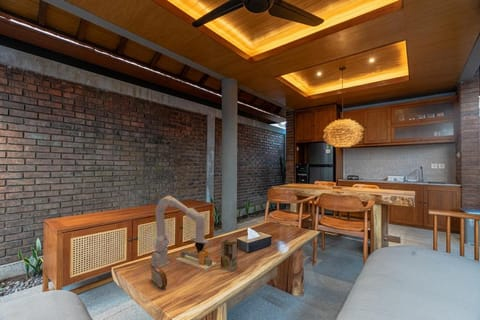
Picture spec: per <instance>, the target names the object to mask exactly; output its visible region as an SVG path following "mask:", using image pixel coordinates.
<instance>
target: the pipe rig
mask: <svg viewBox="0 0 480 320" xmlns="http://www.w3.org/2000/svg"><path fill="white" fill-rule="evenodd" d="M175 261H176V262H180V263H183V264H187V265H188V266H192V267H195V268H197V269H200V270H203V271H208V270H210V269H212V268H213V267H215V266H217V262H214V261H213V259H211V258H210V257H209V256H208V257H204V261H207V262H206V263H205V264H201V263H199V254H198V253H194V252H190V251H187V250H184V249H183V250H182V251H181V252H180V256H179V257H177V258H175Z"/></svg>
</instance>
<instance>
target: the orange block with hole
mask: <svg viewBox="0 0 480 320" xmlns="http://www.w3.org/2000/svg"><path fill="white" fill-rule="evenodd" d="M198 255H199V263H201V264H205V263H206V262H207V261H204V257H208V258H209V250H207V249H203V250H202V251H200V252H199V254H198Z"/></svg>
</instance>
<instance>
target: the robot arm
mask: <svg viewBox="0 0 480 320" xmlns="http://www.w3.org/2000/svg"><path fill="white" fill-rule="evenodd" d="M168 207H171V208H172V207H175V208H177V209H178V210H181V211H182V212H183V213H185V216H187V217H188V218H189V219H191V220H192V221H195V224H196V226H195V237H191V238H190V242H195V243H194V246H195V248H196V251H197V255H199V252H200V251H202V250H204V247H205V245H206V246H209V245H210V241H209V240H207V239H206V238H205V232H206V231H205V229H206V227H205V226H206V225H205V220H206V217H205V215H204V214H203V213H201V212H198V211H197V210H196V209H195V208H194V207H193V208H192V207H189V208H188V207H187V206H186V205H185V204H183V203H182V202H181V201H179V200H178V199H176V198H175V197H173V196H172V195H166V196H165V197H162V198H161V199H160V200H159V201H158V203H157V205H156V207H155V210H154V211H155V223H156V225H155V226H156V240H155V245H154V249H155V251H153V253H152V254H151V263H150V266H152V267H153V268H154V267H156V266H158V267H159V268H160V269H161V268H162V267H165V266H167V265H169V264H170V263H171V262H170V261H169V260H168V253H169V252H168V246H169V239H168V237H167V236H168V235H167V234H166V222H165V221H166V219H165V210H166V209H167V208H168Z"/></svg>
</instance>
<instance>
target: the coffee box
mask: <svg viewBox="0 0 480 320" xmlns="http://www.w3.org/2000/svg"><path fill="white" fill-rule="evenodd" d="M238 243H239V242H238V241H234V240H233V241H232V240H228V239H225V240H223V241H222V242H220V269H224V270H227V271H229V272H233V271H235V270H236V269H238Z"/></svg>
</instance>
